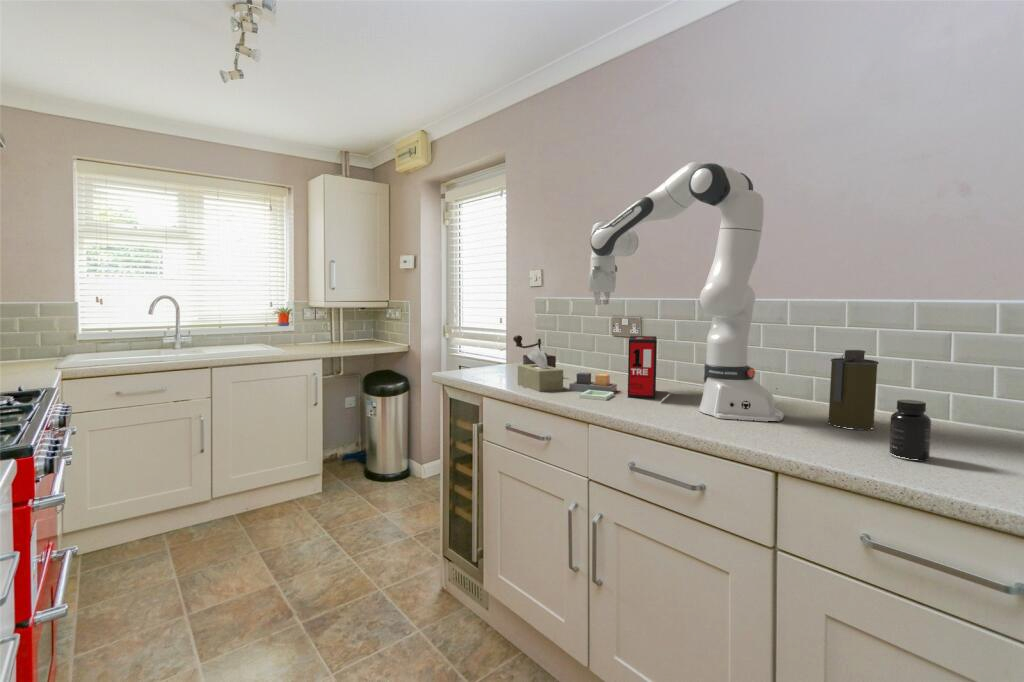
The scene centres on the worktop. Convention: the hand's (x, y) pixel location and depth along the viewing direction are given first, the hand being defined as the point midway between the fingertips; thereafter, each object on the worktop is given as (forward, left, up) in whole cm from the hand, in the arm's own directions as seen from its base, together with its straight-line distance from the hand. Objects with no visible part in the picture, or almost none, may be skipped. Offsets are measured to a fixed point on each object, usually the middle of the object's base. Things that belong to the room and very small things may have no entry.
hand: (602, 304), depth 189 cm
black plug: (+3, +9, -31) cm, 32 cm away
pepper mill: (+33, -11, -31) cm, 47 cm away
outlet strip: (0, +9, -31) cm, 32 cm away
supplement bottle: (-84, +49, -31) cm, 102 cm away
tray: (-5, +20, -31) cm, 37 cm away
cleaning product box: (-17, +7, -31) cm, 36 cm away
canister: (-76, +23, -31) cm, 85 cm away
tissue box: (+20, +11, -32) cm, 39 cm away
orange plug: (-4, +9, -31) cm, 32 cm away
